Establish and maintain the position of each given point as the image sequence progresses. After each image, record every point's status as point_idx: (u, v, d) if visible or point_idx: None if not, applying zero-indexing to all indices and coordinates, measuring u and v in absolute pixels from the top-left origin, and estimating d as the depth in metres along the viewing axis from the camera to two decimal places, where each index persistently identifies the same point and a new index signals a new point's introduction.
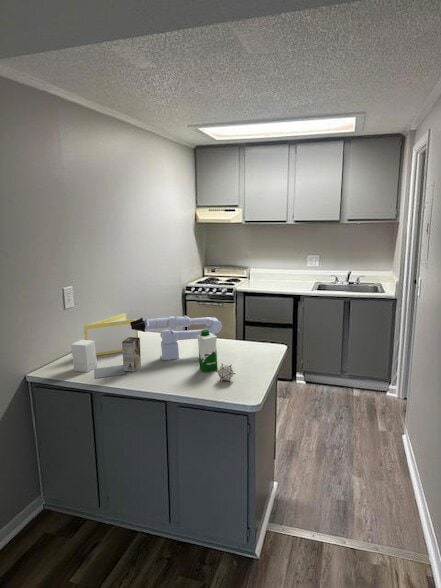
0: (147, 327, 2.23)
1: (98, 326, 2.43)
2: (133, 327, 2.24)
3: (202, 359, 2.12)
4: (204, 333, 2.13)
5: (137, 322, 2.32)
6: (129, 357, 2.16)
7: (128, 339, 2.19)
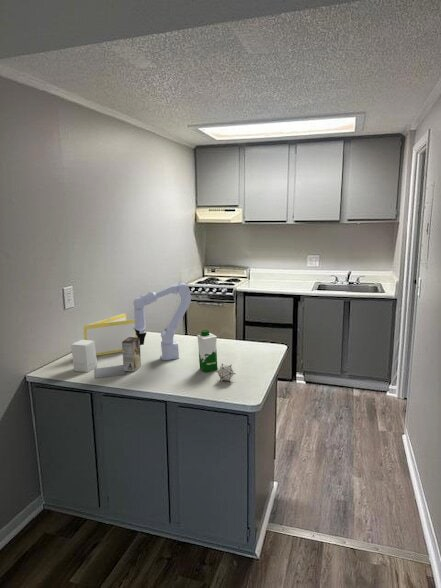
0: (141, 331, 2.24)
1: (98, 326, 2.43)
2: (141, 343, 2.28)
3: (202, 359, 2.12)
4: (204, 333, 2.13)
5: None
6: (129, 357, 2.16)
7: (128, 339, 2.19)
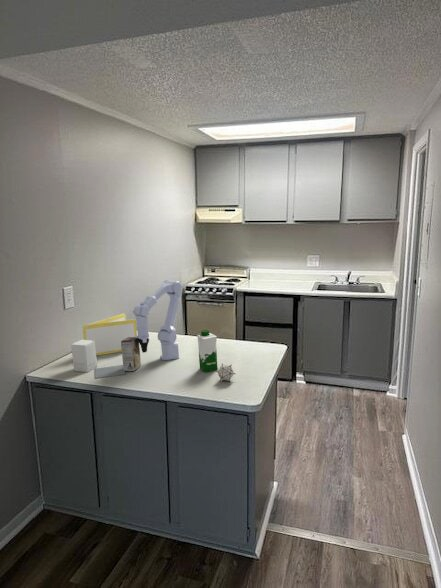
0: (144, 340, 2.14)
1: (97, 326, 2.43)
2: (144, 350, 2.21)
3: (202, 359, 2.12)
4: (204, 333, 2.13)
5: None
6: (128, 356, 2.16)
7: (127, 339, 2.20)
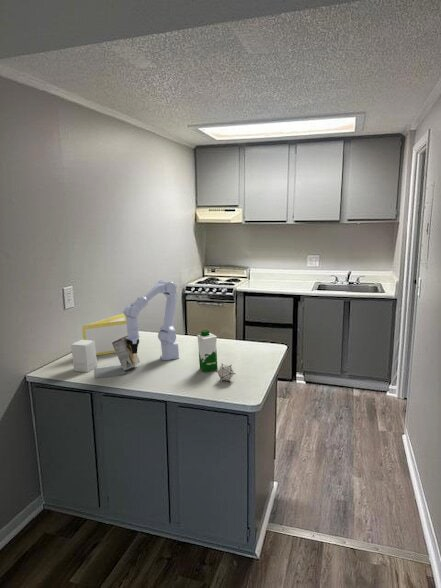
0: (134, 342, 2.12)
1: (96, 326, 2.43)
2: (134, 351, 2.20)
3: (202, 359, 2.12)
4: (204, 333, 2.13)
5: None
6: (123, 355, 2.17)
7: (118, 339, 2.21)
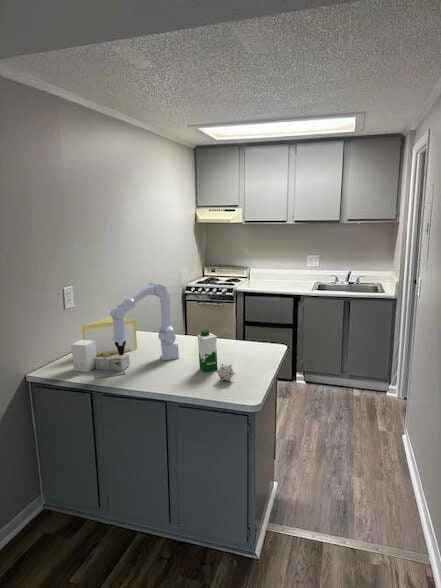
0: (120, 343, 2.10)
1: (96, 326, 2.43)
2: (121, 353, 2.18)
3: (202, 359, 2.12)
4: (204, 333, 2.13)
5: None
6: (108, 364, 2.19)
7: None
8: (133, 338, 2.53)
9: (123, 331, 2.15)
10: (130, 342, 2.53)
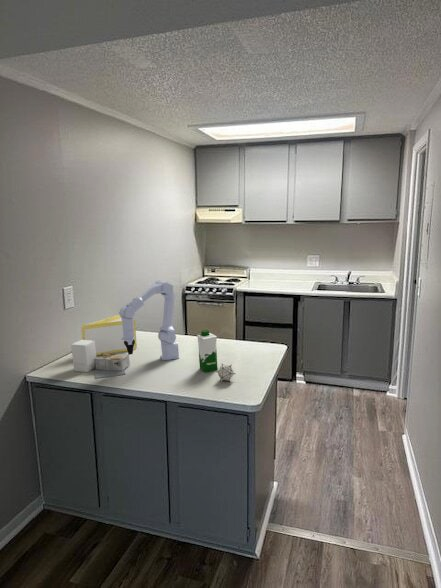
0: (129, 342, 2.12)
1: (96, 326, 2.43)
2: (130, 352, 2.19)
3: (202, 359, 2.12)
4: (204, 333, 2.13)
5: None
6: (108, 364, 2.19)
7: None
8: None
9: (132, 330, 2.17)
10: None
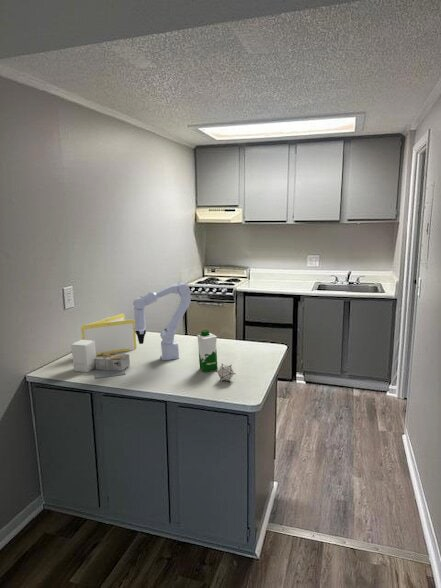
0: (141, 332, 2.23)
1: (95, 326, 2.43)
2: (141, 341, 2.30)
3: (202, 359, 2.12)
4: (204, 333, 2.13)
5: None
6: (108, 364, 2.19)
7: None
8: (132, 338, 2.53)
9: (144, 321, 2.27)
10: (129, 342, 2.52)
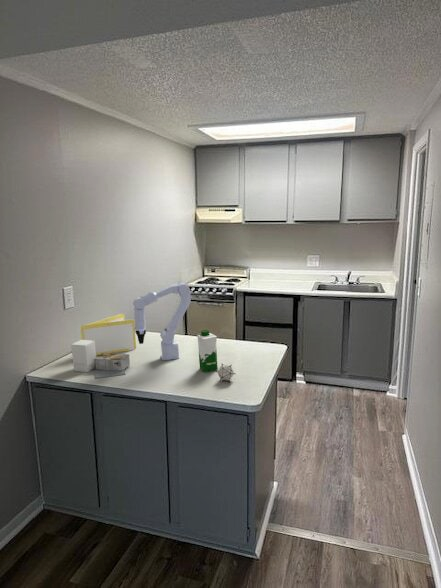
0: (141, 332, 2.23)
1: (95, 326, 2.43)
2: (141, 341, 2.30)
3: (202, 359, 2.12)
4: (204, 333, 2.13)
5: None
6: (108, 364, 2.19)
7: None
8: (132, 338, 2.53)
9: (144, 320, 2.27)
10: (129, 342, 2.52)
